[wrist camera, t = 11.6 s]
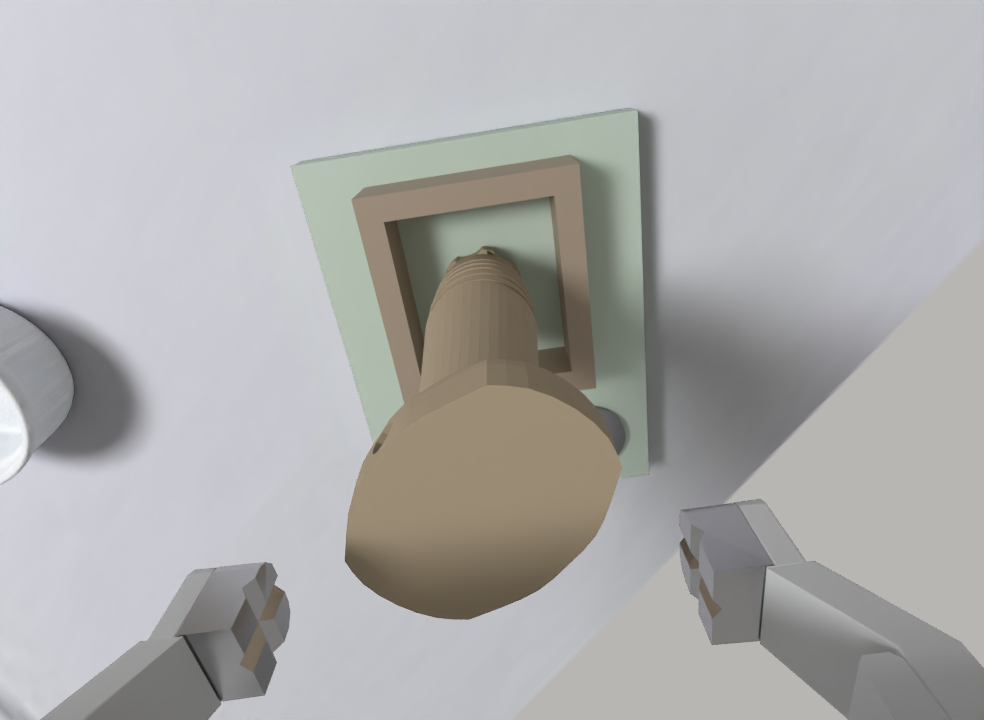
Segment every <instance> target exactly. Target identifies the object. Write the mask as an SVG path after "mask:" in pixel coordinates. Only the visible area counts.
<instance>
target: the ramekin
mask: <svg viewBox="0 0 984 720" xmlns="http://www.w3.org/2000/svg"><path fill="white" fill-rule="evenodd" d="M73 394H74V386H73V378H72V374H71V372H70V369H69V367H68V365H67V363H66V361H65V359H64V357H63V356H62V354H61V353H60V351H59V350H58V348H57V347H56V346H55V344H54V343H53V342H52V341H51V340H50V339H49V338H48V337H47V336H46V335H45V334H44V333H43V332H42V331H41V330H40V329H38V328H37V327H36V326H35V325H33V324H32V323H31V322H29V321H28V320H26V319H25V318H23V317H21V316H20V315H18V314H16V313H15V312H13V311H10V310H8V309H6V308H4V307H2V306H0V485H1V484H3V483H5V482H7V481H9V480H10V479H12V478H13V477H14V476H15V475H16V474H18V473H19V472H20V471H21V469H22V468H23V467H24V466H25V465H26V463H27V462H28V460H29V459H30V457H31V456H32V453H33V452H34V451H35V450H36V449H37V448H38V447H39V446H40V445H41V444H42V443H43V442H44V441H45V440H46V439H47V438H48V437H50V436H51V435H52V433H53V432H54V431H55V430H56V429H57V428H58V427H59V426H60V425H61V423H62V422H63V421H64V420H65V418H66V417H67V415H68V412H69V410H70V408H71V404H72V401H73Z"/></svg>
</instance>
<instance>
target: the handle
mask: <svg viewBox="0 0 984 720" xmlns="http://www.w3.org/2000/svg"><path fill="white" fill-rule="evenodd" d="M520 276H521V275H520V273H519V270H518V268H517V266H516V265H515V263H514V262H513V261H508V260H505V259H503V258H502V257H500V256H499V255H498V254H497V253H496V252H495V251H494V248H493V247H489V246H482V247H481V248H480V249H479V250H478V251H477V252H475V253H473V254H471V255H468V256H464V257H460V256H457V257H456V258H455V259H454V260H453V261H452V262H451V263H450V265H449V267H448V268H447V270H446V273H445V276H444V278H443V280H442V281H441V283H440V285H439V287H438V290H437V292H436V294H435V297H434V300H433V302H432V305H431V308H430V312H429V316H428V320H427V324H426V329H425V340H424V351H423V362H422V372H421V381H420V390H419V394H417V395H416V396H414V397H413V398H412V399H411V400H409V401H408V402H407V403H405V404H404V405H403V406H402V407H401V408H400V409H399V410H398V411H397V412H396V413H395V414H394V415H393V416H392V417H391V418H390V420H389V421H388V423H387V424H386V426H385V427H384V429H383V431H382V432H381V434H380V435H379V437H378V438H377V440H376V441H375V443H374V445H373V446H372V448H371V449H370V451H369V453H368V455H367V456H366V458H365V460H364V462H363V464H362V467H361V470H360V473H359V476H358V479H357V482H356V486H355V490H354V494H353V498H352V501H351V505H350V509H349V513H348V523H347V533H346V550H345V562H346V563H347V565H348V566H349V568H350V569H351V571H352V572H353V573H354V574H355V575H356V577H357V578H358V579H359V580H360V581H361V582H362V583H363V584H364V585H365V586H367V587H368V588H370V589H371V590H372V591H374V592H375V593H376V594H378V595H379V596H381V597H383V598H385V599H387V600H389V601H391V602H392V603H394V604H396V605H398V606H401V607H404V608H406V609H409V610H411V611H414V612H416V613H420V614H424V615H428V616H432V617H436V618H445V619H472V618H474V617H477V616H480V615H482V614H485V613H488V612H490V611H493V610H496V609H498V608H501V607H503V606H506V605H508V604H511V603H513V602H516V601H518V600H521V599H523V598H525V597H526V596H528V595H530V594H532V593H534V592H536V591H538V590H539V589H541V588H542V587H543V586H545V585H546V584H547V583H548V582H550V581H551V580H552V579H554V578H555V577H556V576H557V575H558V574H559V573H560V572H561V571H562V570H563V569H564V568H565V567H566V566H567V565H568V564H569V563H571V562H572V561H573V560H574V559H575V558H576V557H577V556H578V555H579V554H580V553H581V552H582V551H583V550H584V549H585V548H586V547H587V545H588V544H589V543H590V542H591V541H592V540H593V538H594V537H595V536H596V534H597V532H598V530H599V528H600V527H601V525H602V523H603V521H604V519H605V516H606V513H607V511H608V508H609V505H610V502H611V500H612V497H613V494H614V491H615V488H616V485H617V481H618V478H619V475H620V472H621V469H622V467H621V464H620V461H619V458H618V455H617V452H616V449H615V446H614V443H613V440H612V437H611V435H610V432H609V429H608V427H607V425H606V424H605V422H604V420H603V418H602V416H601V414H600V412H599V411H598V409H597V408H596V407H595V406H594V405H593V404H592V402H591V401H590V400H589V399H588V398H587V397H586V396H585V395H584V394H583V393H582V392H581V391H579V390H578V389H577V388H575V387H574V386H573V385H572V384H570V383H569V382H568V381H566V380H565V379H563V378H561V377H559V376H557V375H555V374H554V373H552V372H550V371H548V370H546V369H544V368H541V367H539V364H538V340H537V324H536V319H535V314H534V309H533V305H532V301H531V298H530V295H529V293H528V290H527V288H526V286H525V283H524V282H523V280H522V278H521V277H520Z"/></svg>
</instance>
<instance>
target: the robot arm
mask: <svg viewBox="0 0 984 720" xmlns="http://www.w3.org/2000/svg"><path fill="white" fill-rule="evenodd" d="M679 526H680V528H681V531H682V533H683V535H684V539H683V540H682V541H681V542H680V559H681V565H682V571H683V574H684V577H685V581H686V584H687V586H688V589H689V591H690V594H692V595H693V596H694V597H696V598H697V599H699V615H700V618H701V620H702V623H703V625H704V627H705V630H706V632H707V635H708V637H709V640H710V642H711V644H712V645H718V644H728V643H741V642H753V641H760V644H761V645H762V646H764V647H765V648H766V649H767V650H768V651H769V652H771V653H772V654H773V655H774V656H775V657H776V658H778V659H779V660H780V661H781V662H782V663H783V664H784V665H786V666H787V667H788V668H789V669H790V670H791V671H793V672H794V673H795V674H796V675H797V676H798V677H800V678H801V679H802V680H803V681H804V682H805V683H807V684H808V685H809V686H810V687H811V688H812V689H814V690H815V691H816V692H817V693H818V694H819V695H821V696H822V697H823V698H824V699H825V700H826V701H827V702H829V703H830V704H831V705H832V706H833V707H834V708H836V709H837V710H838V711H839V712H840V713H842V714H843V715H844V716H845V717H846V718H847V719H848V720H984V668H983V667H982V666H981V664H980V663H979V662H978V661H977V660H976V659H975V657H974V656H973V655H972V654H971V653H970V652H969V651H968V649H967V648H966V647H965V646H964V645H963V644H962V642H960V641H958V640H957V639H955V638H953V637H951V636H949V635H947V634H946V633H944V632H942V631H940V630H938V629H937V628H935V627H933V626H931V625H929V624H928V623H926V622H924V621H922V620H920V619H919V618H917V617H915V616H913V615H911V614H909V613H908V612H906V611H904V610H902V609H900V608H899V607H897V606H895V605H893V604H891V603H890V602H888V601H886V600H884V599H882V598H881V597H879V596H877V595H875V594H873V593H872V592H870V591H868V590H866V589H864V588H863V587H861V586H859V585H857V584H855V583H853V582H852V581H850V580H848V579H846V578H844V577H843V576H841V575H839V574H837V573H835V572H833V571H832V570H830V569H828V568H826V567H825V566H823V565H821V564H819V563H817V562H816V561H811V562H806V561H805V559H804V558H803V556H802V555H801V553H800V552H799V551H798V549H797V548H796V546H795V545H794V543H793V542H792V540H791V539H790V537H789V536H788V535H787V533H786V532H785V530H784V529H783V527H782V526H781V524H780V523H779V522H778V520H777V519H776V517H775V516H774V514H773V513H772V511H771V510H770V509H769V507H768V506H767V504H766V503H765V502H764V501H763V500H761V499H756V500H750V501H742V502H735V503H733V504H732V503H730V504H722V505H714V506H707V507H700V508H692V509H685V510H681V512H680V522H679ZM277 576H278V575H277V573H276V571H275V569H274V567H273V565H272V564H271V563H267V562H263V563H253V564H243V565H233V566H223V567H218V568H209V569H197V570H194V571H193V572H191V573H190V574H188V575H187V577H186V579H185V580H184V582H183V584H182V585H181V587H180V588H179V590H178V592H177V593H176V595H175V597H174V598H173V600H172V602H171V603H170V605H169V606H168V608H167V610H166V611H165V613H164V615H163V616H162V618H161V619H160V621H159V623H158V624H157V626H156V628H155V629H154V631H153V633H152V634H151V636H150V637H149V639H148V640H147V641H140V642H139V643H137V644H136V645H135V646H134V647H132V648H131V649H130V650H128V651H127V652H126V653H125V654H123V655H122V656H121V657H120V658H118V659H117V660H116V661H114V662H113V663H112V664H111V665H109V666H108V667H107V668H105V669H104V670H103V671H102V672H100V673H99V674H98V675H97V676H95V677H94V678H93V679H91V680H90V681H89V682H88V683H86V684H85V685H84V686H83V687H81V688H80V689H79V690H77V691H76V692H75V693H74V694H72V695H71V696H70V697H68V698H67V699H66V700H65V701H63V702H62V703H61V704H60V705H58V706H57V707H56V708H54V709H53V710H52V711H51V712H49V713H48V714H47V715H46V716H44V717H43V718H42V719H40V720H208V719H209V718H210V717H211V715H212V714H213V713H214V712H215V711H216V710H217V708H218V707H219V706H220V705H221V702H222V701H229V700H236V699H242V698H249V697H256V696H263V695H265V693H266V691H267V688H268V685H269V682H270V680H271V677H272V674H273V671H274V669H275V666H276V663H277V662H276V659H275V657H274V654H273V652H274V651H275V650H276V649H277V648H278V647H279V646H280V645H281V644H282V643H283V642H284V641H285V638H286V635H287V632H288V629H289V621H290V608H289V602H288V599H287V596H286V594H285V592H284V591H283V590H281V589H280V588H278V587H277V586H275V585H274V583H275V581H276V578H277Z"/></svg>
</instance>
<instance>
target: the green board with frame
mask: <svg viewBox="0 0 984 720" xmlns="http://www.w3.org/2000/svg"><path fill="white" fill-rule="evenodd" d="M290 167H291V171H292V174H293V177H294V181H295V184H296V187H297V191H298V194H299V197H300V201H301V204H302V207H303V211H304V214H305V217H306V221H307V224H308V227H309V231H310V234H311V237H312V241H313V244H314V247H315V251H316V254H317V257H318V261H319V264H320V267H321V271H322V274H323V277H324V281H325V284H326V287H327V291H328V294H329V297H330V301H331V304H332V307H333V311H334V314H335V317H336V321H337V324H338V327H339V331H340V334H341V337H342V341H343V344H344V347H345V350H346V354H347V357H348V360H349V364H350V367H351V370H352V374H353V377H354V380H355V384H356V387H357V390H358V394H359V397H360V400H361V404H362V407H363V410H364V414H365V417H366V420H367V424H368V427H369V430H370V434H371V437H372V440H373V444H374V443H375V441H376V440H377V438H378V437H379V435H380V434H381V432H382V431H383V429H384V427H385V426H386V424H387V423H388V421H389V420H390V418H391V417H392V416H393V415H394V414H395V413H396V412H397V411H398V410H399V409H400V408H401V407H402V406H403V405H404V404H405V403H407V402H408V401H409V400H411V399H412V398H413V397H414V396H416V395H417V394H419V390H420V381H421V372H422V362H423V351H424V340H425V329H426V324H427V320H428V316H429V312H430V308H431V305H432V302H433V300H434V297H435V294H436V292H437V290H438V287H439V285H440V283H441V281H442V280H443V278H444V276H445V273H446V270H447V268H448V267H449V265H450V263H451V262H452V261H453V260H454V259H455V258H456V257H457V256H460V257H464V256H468V255H471V254H473V253H475V252H477V251H478V250H479V249H480V248H481V247H482V246H489V247H493V248H494V251H495V252H496V253H497V254H498V255H499V256H500V257H502V258H503V259H505V260H508V261H513V262H514V263H515V265H516V266H517V268H518V270H519V273H520V275H521V276H520V277H521V278H522V280H523V282H524V283H525V286H526V288H527V290H528V293H529V295H530V298H531V301H532V305H533V309H534V314H535V319H536V324H537V340H538V364H539V367H541V368H544V369H546V370H548V371H550V372H552V373H554V374H555V375H557V376H559V377H561V378H563V379H565V380H566V381H568V382H569V383H570V384H572V385H573V386H574V387H575V388H577V389H578V390H579V391H581V392H582V393H583V394H584V395H585V396H586V397H587V398H588V399H589V400H590V401H591V402H592V404H593V405H594V406H595V407H596V408H597V409H598V411H599V412H600V414H601V416H602V418H603V420H604V422H605V424H606V425H607V427H608V429H609V432H610V435H611V437H612V440H613V443H614V446H615V449H616V452H617V455H618V458H619V461H620V464H621V467H622V469H621V472H620V475H619V478H624V477H632V476H641V475H649V461H648V428H647V395H646V362H645V329H644V296H643V263H642V231H641V198H640V165H639V132H638V110H636V109H632V108H625V109H618V110H612V111H606V112H600V113H594V114H588V115H582V116H576V117H570V118H563V119H557V120H551V121H545V122H539V123H533V124H527V125H521V126H514V127H508V128H502V129H496V130H490V131H484V132H478V133H472V134H465V135H459V136H453V137H447V138H441V139H435V140H429V141H423V142H417V143H410V144H404V145H398V146H392V147H386V148H380V149H374V150H368V151H361V152H355V153H349V154H343V155H337V156H331V157H325V158H319V159H312V160H306V161H301V162H299V163H297V164H295V165H292V166H290Z"/></svg>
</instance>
